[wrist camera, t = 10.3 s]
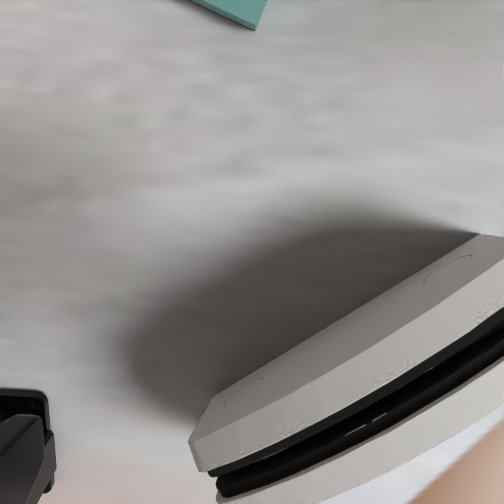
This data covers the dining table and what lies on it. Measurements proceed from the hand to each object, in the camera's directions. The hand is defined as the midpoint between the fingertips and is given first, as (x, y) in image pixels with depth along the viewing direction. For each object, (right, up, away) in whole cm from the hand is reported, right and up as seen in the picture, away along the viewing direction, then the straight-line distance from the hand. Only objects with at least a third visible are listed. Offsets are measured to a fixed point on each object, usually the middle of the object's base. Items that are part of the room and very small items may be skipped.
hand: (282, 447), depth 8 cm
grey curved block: (+5, -1, +14) cm, 15 cm away
